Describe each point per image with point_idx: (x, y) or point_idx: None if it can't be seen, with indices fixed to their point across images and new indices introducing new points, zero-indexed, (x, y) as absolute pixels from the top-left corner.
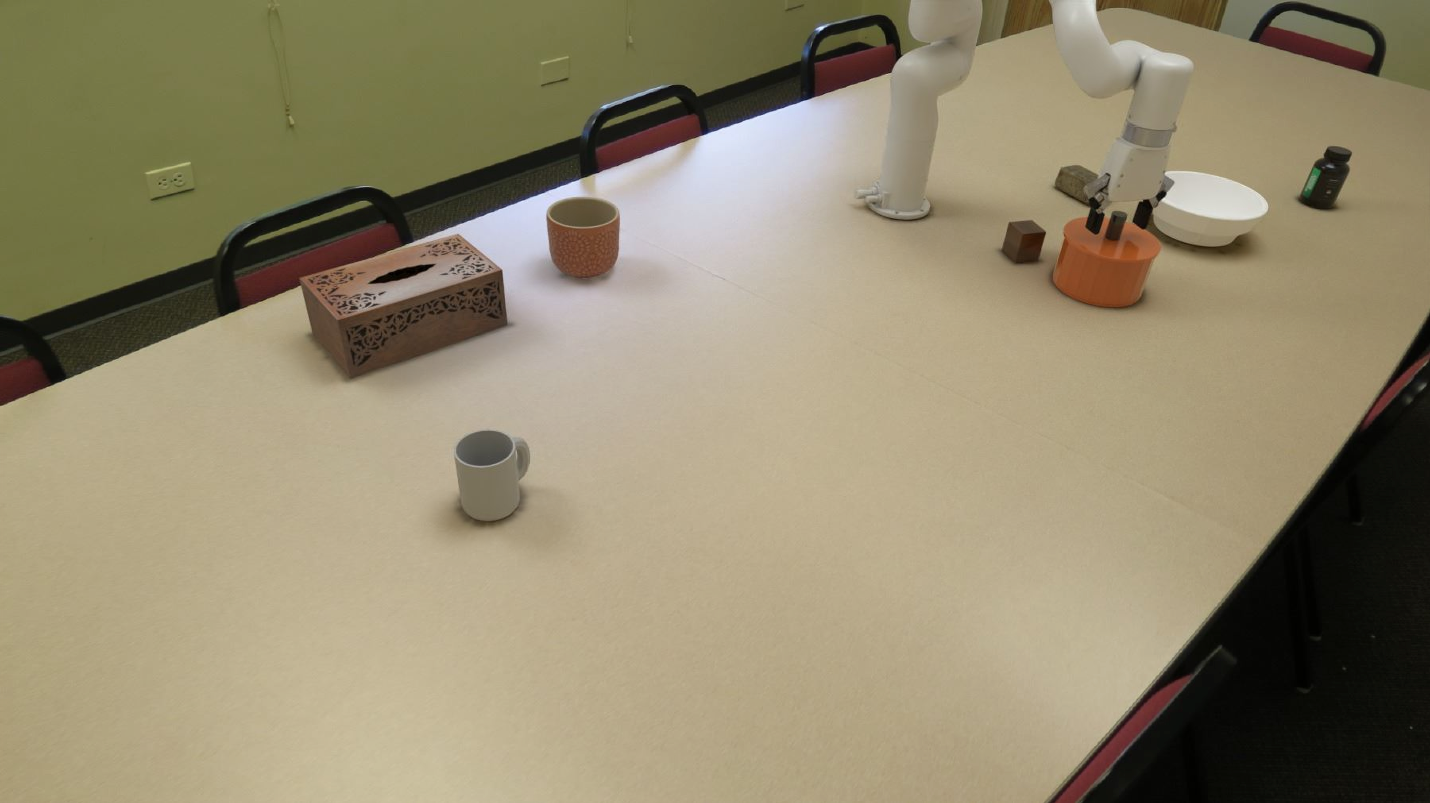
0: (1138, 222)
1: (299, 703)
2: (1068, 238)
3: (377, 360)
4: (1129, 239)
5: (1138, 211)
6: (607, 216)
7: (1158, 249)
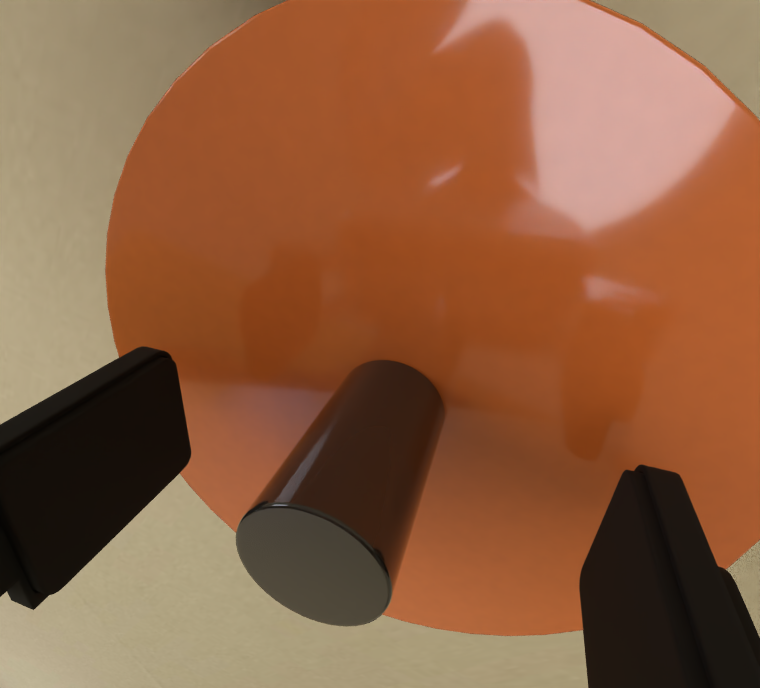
0: (605, 556)
1: None
2: (108, 302)
3: None
4: (493, 478)
5: (641, 626)
6: None
7: (570, 623)
